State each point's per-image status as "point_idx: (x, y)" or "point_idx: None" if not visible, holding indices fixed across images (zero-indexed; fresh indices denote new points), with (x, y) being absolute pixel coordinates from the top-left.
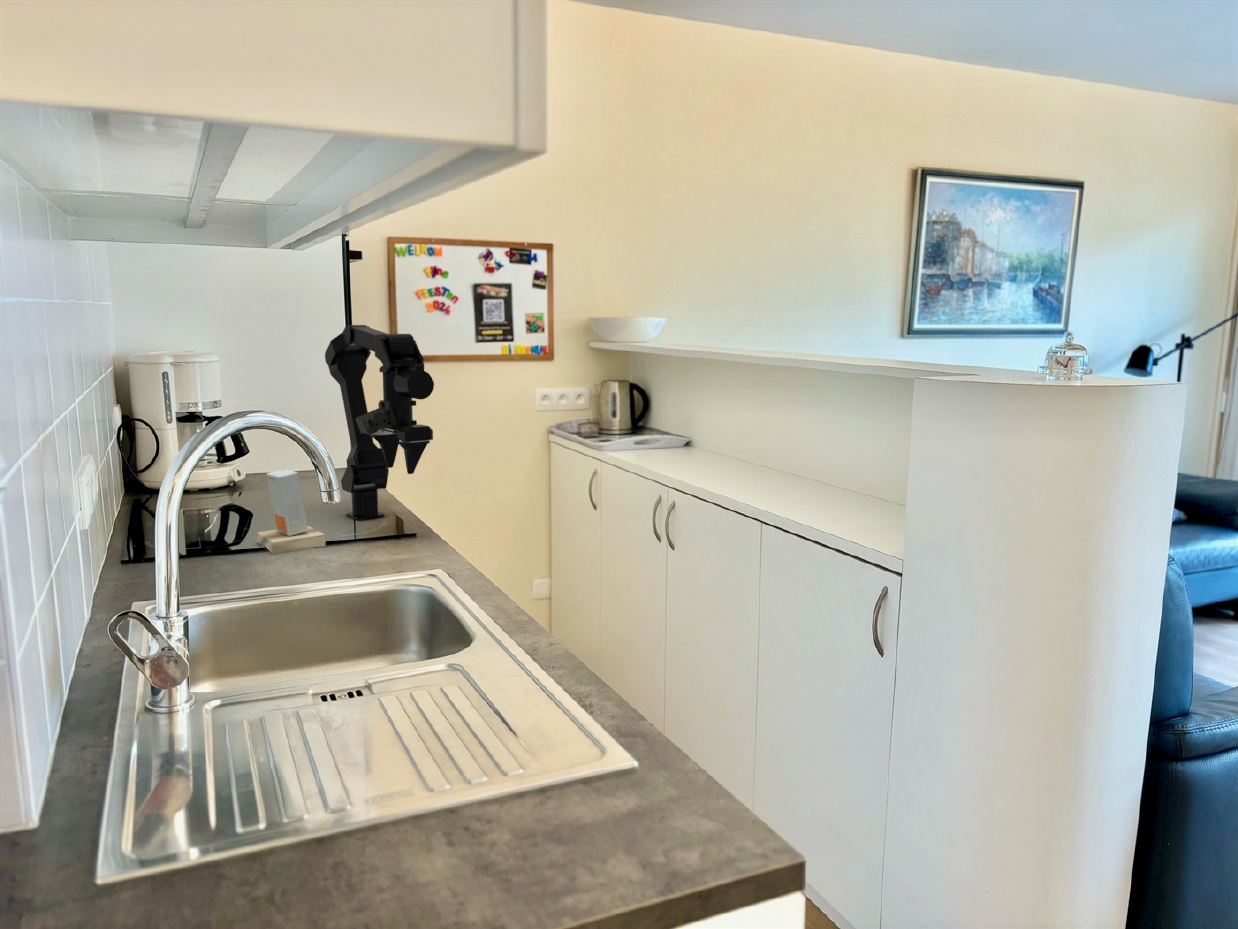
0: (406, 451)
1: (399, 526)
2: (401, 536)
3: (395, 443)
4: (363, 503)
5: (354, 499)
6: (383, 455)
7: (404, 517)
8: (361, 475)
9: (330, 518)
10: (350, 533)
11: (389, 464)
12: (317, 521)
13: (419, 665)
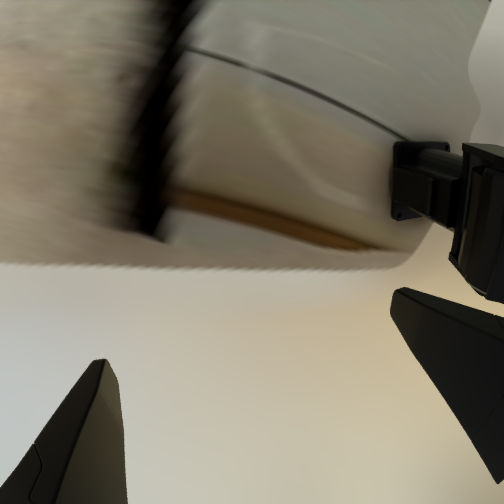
0: (3, 501)
1: (274, 220)
2: (144, 189)
3: (480, 426)
4: (427, 171)
5: (453, 157)
6: (472, 308)
7: (358, 260)
8: (488, 183)
9: (442, 101)
10: (271, 60)
11: (403, 307)
12: (433, 62)
13: None
